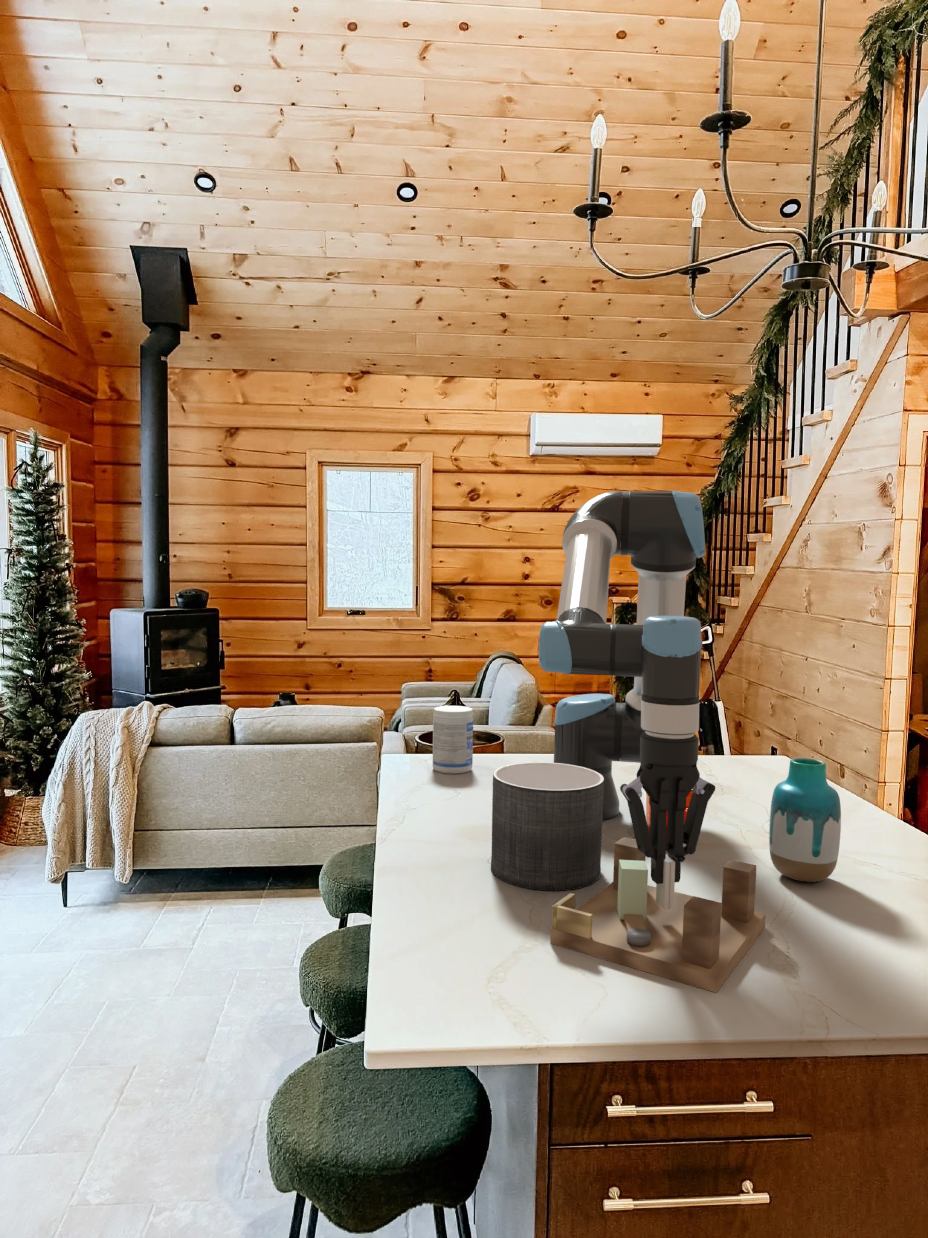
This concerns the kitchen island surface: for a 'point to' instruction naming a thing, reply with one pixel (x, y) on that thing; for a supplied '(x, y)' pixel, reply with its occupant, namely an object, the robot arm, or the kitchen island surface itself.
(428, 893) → the kitchen island surface
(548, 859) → the planter
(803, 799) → the vase
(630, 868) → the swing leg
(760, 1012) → the kitchen island surface
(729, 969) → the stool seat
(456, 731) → the supplement tub
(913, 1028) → the kitchen island surface
